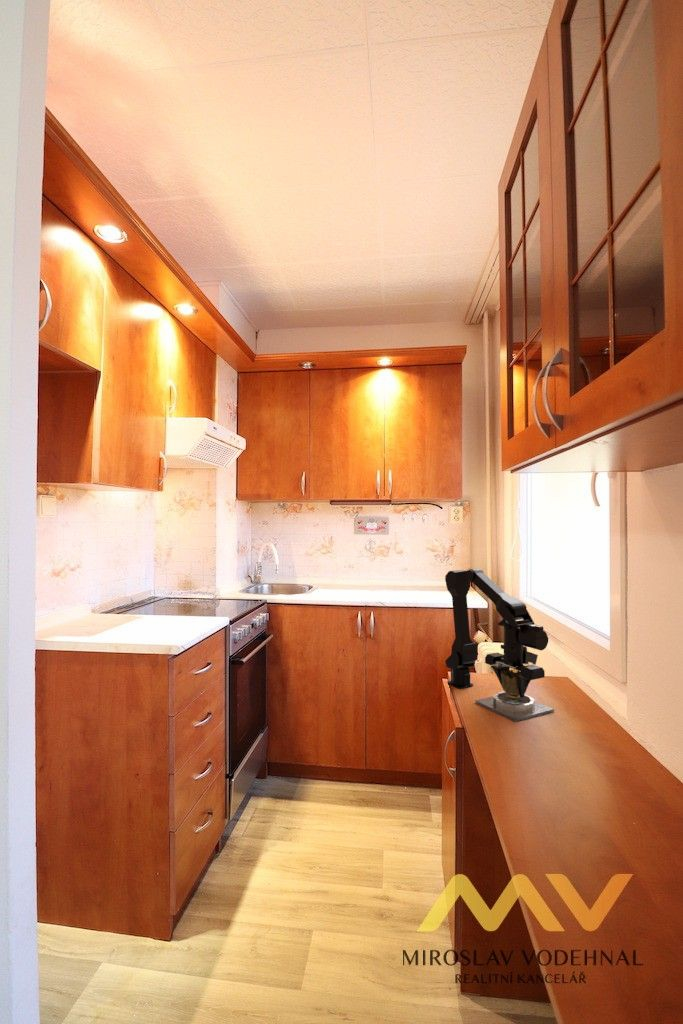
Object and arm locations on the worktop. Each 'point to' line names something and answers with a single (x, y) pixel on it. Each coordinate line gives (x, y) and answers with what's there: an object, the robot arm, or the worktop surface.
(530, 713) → the cup bracket
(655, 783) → the worktop surface
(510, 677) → the cup
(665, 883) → the worktop surface
